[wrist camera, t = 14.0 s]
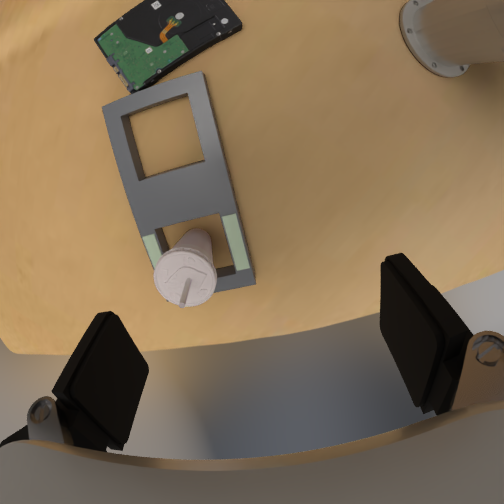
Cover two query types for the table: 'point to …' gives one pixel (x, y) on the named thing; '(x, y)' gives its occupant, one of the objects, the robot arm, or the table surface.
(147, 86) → the disk drive
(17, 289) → the table surface
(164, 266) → the smoothie
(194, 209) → the dock
